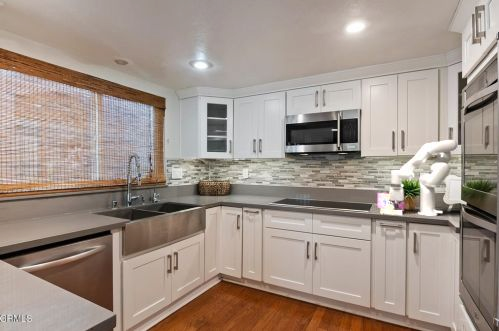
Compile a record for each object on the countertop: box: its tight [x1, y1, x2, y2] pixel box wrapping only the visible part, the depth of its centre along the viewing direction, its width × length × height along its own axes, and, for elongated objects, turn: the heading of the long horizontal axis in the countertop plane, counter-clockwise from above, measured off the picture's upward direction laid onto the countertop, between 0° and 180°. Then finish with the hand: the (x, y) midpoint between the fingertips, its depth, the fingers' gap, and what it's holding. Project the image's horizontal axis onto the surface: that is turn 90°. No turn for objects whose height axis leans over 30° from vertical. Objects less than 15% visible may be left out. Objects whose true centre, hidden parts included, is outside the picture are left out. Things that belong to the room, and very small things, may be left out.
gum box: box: [377, 191, 405, 212], centre depth 232 cm, size 24×8×14 cm, turn 13°
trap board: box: [379, 207, 403, 216], centre depth 215 cm, size 15×12×3 cm
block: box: [387, 204, 393, 210], centre depth 213 cm, size 4×4×4 cm
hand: (396, 209), depth 210 cm, fingers closed
